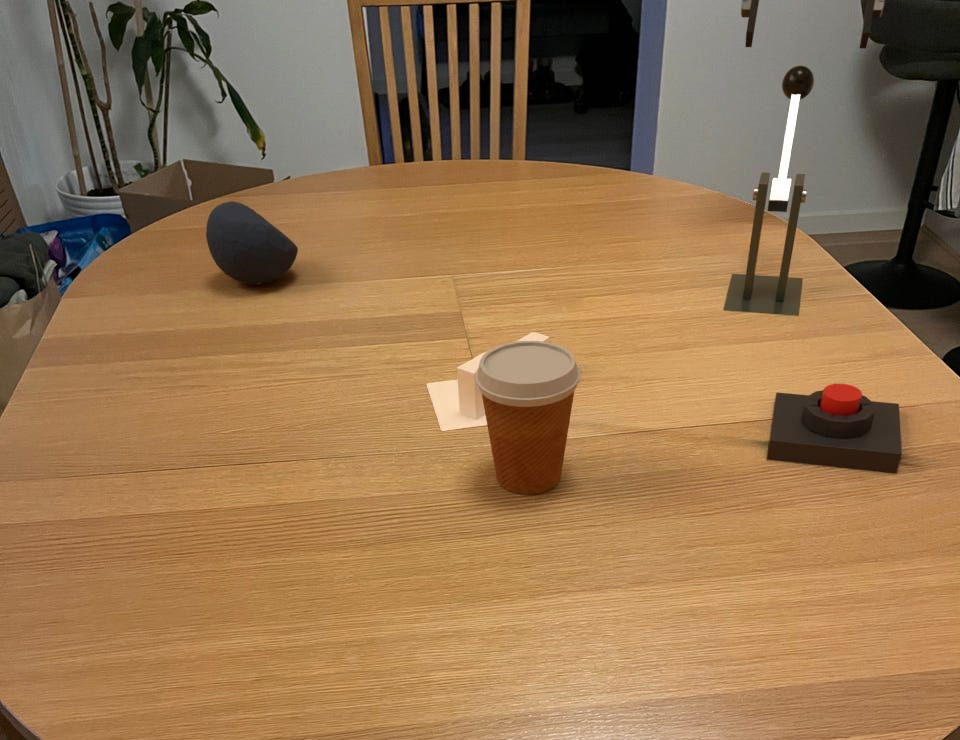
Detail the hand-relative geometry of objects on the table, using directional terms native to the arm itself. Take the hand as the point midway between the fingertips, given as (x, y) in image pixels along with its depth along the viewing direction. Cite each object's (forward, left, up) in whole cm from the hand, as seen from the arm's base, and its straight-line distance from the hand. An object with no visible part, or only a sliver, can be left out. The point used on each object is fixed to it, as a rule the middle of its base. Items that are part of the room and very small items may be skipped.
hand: (805, 40), depth 117 cm
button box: (-9, +51, -25) cm, 57 cm away
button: (-9, +51, -22) cm, 56 cm away
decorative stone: (+68, +23, -26) cm, 76 cm away
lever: (0, +11, -9) cm, 14 cm away
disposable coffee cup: (+19, +64, -26) cm, 71 cm away
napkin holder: (+26, +49, -26) cm, 61 cm away
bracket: (0, +18, -25) cm, 31 cm away
